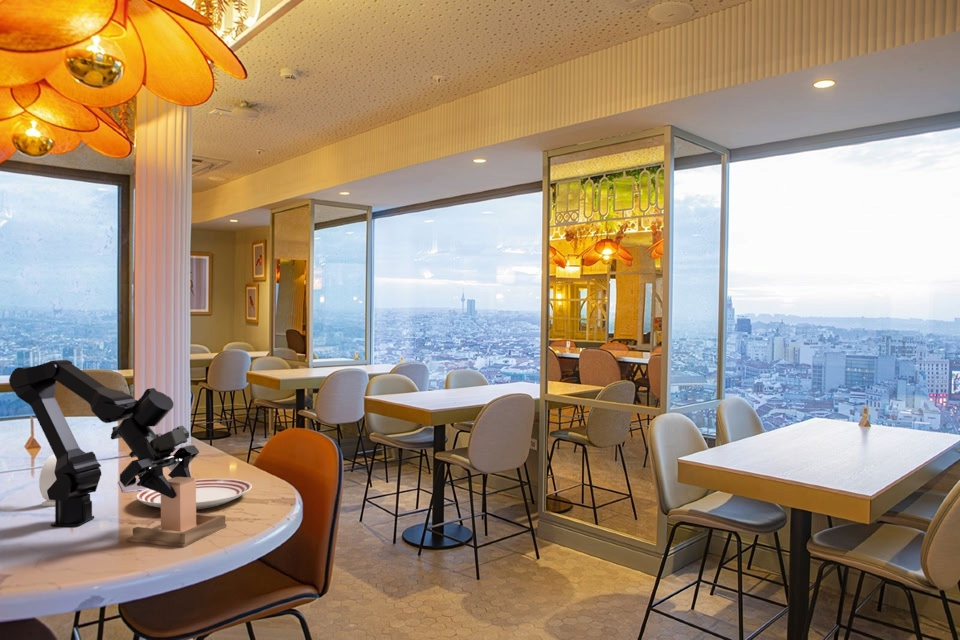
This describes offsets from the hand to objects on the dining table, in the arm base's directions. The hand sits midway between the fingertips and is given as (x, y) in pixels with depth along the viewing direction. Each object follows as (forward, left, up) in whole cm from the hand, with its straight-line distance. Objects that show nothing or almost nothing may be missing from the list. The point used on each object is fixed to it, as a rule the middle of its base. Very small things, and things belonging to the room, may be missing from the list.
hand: (183, 493), depth 144 cm
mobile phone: (-33, +41, -9) cm, 54 cm away
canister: (-1, 0, -8) cm, 8 cm away
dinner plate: (-9, +26, -9) cm, 29 cm away
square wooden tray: (-1, 0, -9) cm, 9 cm away
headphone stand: (-43, +22, -9) cm, 50 cm away
